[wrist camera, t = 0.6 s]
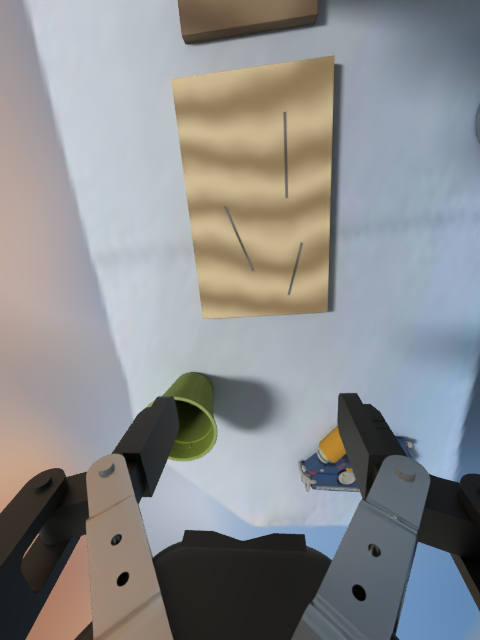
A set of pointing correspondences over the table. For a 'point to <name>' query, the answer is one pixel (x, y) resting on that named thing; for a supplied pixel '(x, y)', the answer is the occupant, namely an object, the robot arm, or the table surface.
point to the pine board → (259, 185)
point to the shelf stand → (241, 17)
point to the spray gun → (333, 465)
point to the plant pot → (193, 417)
